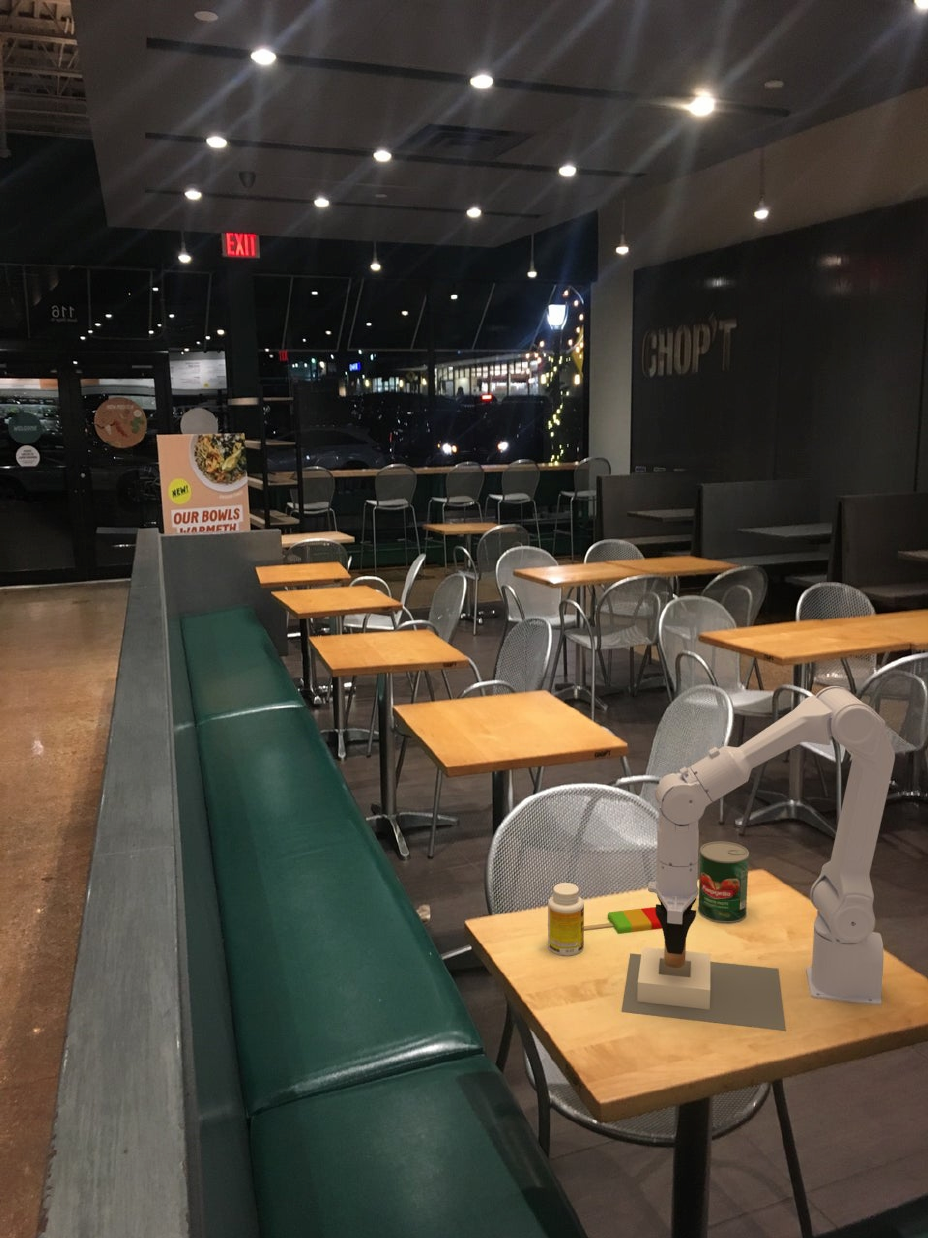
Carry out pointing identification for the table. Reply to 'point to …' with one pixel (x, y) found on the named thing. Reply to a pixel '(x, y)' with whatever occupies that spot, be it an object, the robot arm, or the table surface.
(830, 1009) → the table surface
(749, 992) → the mat
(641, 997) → the hole block
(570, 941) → the supplement bottle
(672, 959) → the peg
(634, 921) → the popsicle
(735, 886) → the canned tomato
